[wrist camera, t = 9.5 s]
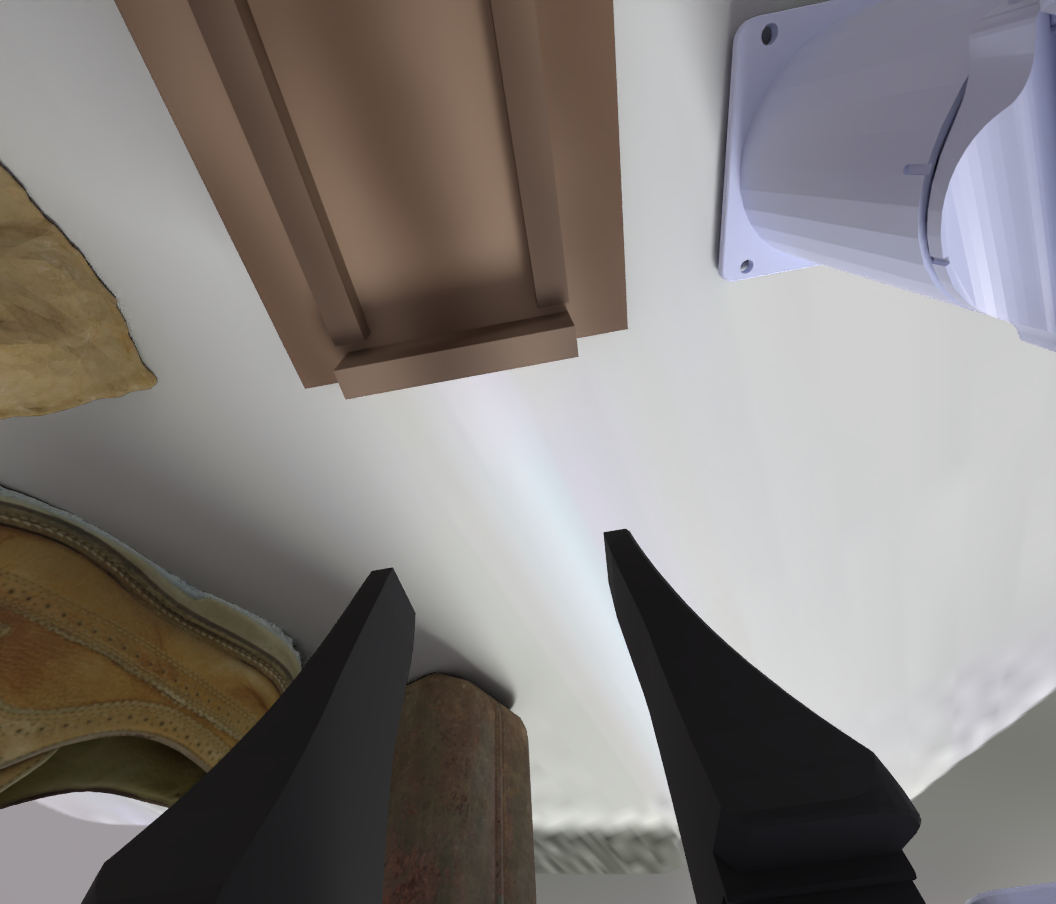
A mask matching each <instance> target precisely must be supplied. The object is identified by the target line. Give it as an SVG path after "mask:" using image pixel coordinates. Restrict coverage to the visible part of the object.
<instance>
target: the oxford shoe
mask: <svg viewBox="0 0 1056 904" xmlns="http://www.w3.org/2000/svg"><path fill="white" fill-rule="evenodd" d="M292 642H293V639H292V638H291V637H287V636H286V635H285V634H284V633H283V632H282V630H281V628H279V627H277V626H276V625H275V624H274V623H271V622H269V621H267V620H266V619H263V618H261V617H260V616H258V615H255V614H253V613H250V612H249V611H247V610H245V609H243V608H241V607H239V606H237V605H236V604H231V603H229V602H227V601H225V600H224V599H221V598H219V597H215V596H213V595H212V594H210V593H206V592H202V591H201V590H198V589H197V588H194V587H192V586H190V585H188V584H187V583H186V582H184V581H182V580H181V579H180V578H179V577H177V576H174V575H172V574H171V573H169V572H168V571H166V570H164V569H163V568H161V567H160V566H158V565H157V564H155V563H154V562H152V561H150V560H149V559H146V558H145V557H143V556H142V555H141V554H139V553H137V551H135V550H133V549H132V548H131V547H129V546H127V545H126V544H124V543H123V542H121V541H119V540H118V539H116V538H114V537H113V536H111V535H110V534H109V533H107V532H105V531H103V530H101V529H100V528H98V527H97V526H94V525H91V524H90V523H87V522H85V521H84V520H83V519H82V518H80V517H78V516H75V515H74V514H71V513H69V512H66V511H64V510H60V509H58V508H56V507H52V506H49V504H45V503H44V502H42V501H39V500H36V499H35V498H32V497H29V496H25V495H24V494H21V493H18V492H15V491H13V490H9V489H6V488H3V487H1V486H0V809H3V808H6V807H9V806H12V805H17V804H20V803H24V802H28V801H32V800H36V799H39V798H44V797H48V796H54V795H58V794H66V793H71V792H85V791H91V792H102V793H110V794H115V795H120V796H124V797H129V798H133V799H136V800H140V801H143V802H147V803H151V804H156V805H159V806H164V807H167V808H170V807H171V806H172V805H173V804H174V803H175V802H176V801H178V800H179V799H180V798H181V797H182V796H183V795H184V794H185V793H186V792H187V791H188V790H190V789H191V788H192V787H193V786H194V785H195V784H196V783H197V782H198V781H199V780H200V779H201V778H202V777H203V776H205V775H206V774H207V773H208V772H209V771H210V770H211V769H212V768H213V767H214V766H215V765H216V764H217V763H218V762H219V761H220V760H221V759H222V758H223V757H224V756H225V755H226V754H227V753H228V752H229V751H230V750H231V749H232V748H233V747H234V746H235V745H236V744H237V743H238V742H239V741H240V740H241V739H242V738H243V736H244V735H245V734H246V733H247V732H248V731H249V730H250V729H251V728H252V727H253V726H254V725H255V724H256V723H257V722H258V721H259V720H260V719H261V718H262V716H263V715H264V714H265V713H266V712H267V711H268V710H269V709H270V707H271V706H272V705H273V704H274V703H275V702H276V701H277V700H278V698H279V697H280V696H281V695H282V694H283V693H284V691H285V690H286V689H287V688H288V686H289V685H290V684H291V683H292V682H293V680H294V679H295V678H296V677H297V675H298V674H299V673H300V671H301V670H302V669H301V668H302V667H301V661H300V659H301V657H300V655H299V653H298V651H295V650H294V648H293V644H292Z"/></svg>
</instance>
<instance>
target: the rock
mask: <svg viewBox="0 0 1056 904" xmlns="http://www.w3.org/2000/svg"><path fill="white" fill-rule="evenodd" d="M116 305H117V300H116V299H115V297H114V296H113V295H112V294H111V293H110V292H109V291H108V290H107V289H106V288H105V287H104V286H103V284H102V283H101V282H100V281H99V279H98V278H97V276H96V275H95V274H94V272H93V271H92V269H91V268H90V267H89V266H88V264H87V262H86V260H85V259H84V257H83V256H82V255H81V254H80V253H79V251H78V250H76V249H75V248H73V247H72V245H71V244H70V243H69V242H68V241H67V239H66V238H65V237H64V235H63V234H62V233H61V232H60V231H59V230H58V228H57V227H56V226H55V225H54V224H52V223H50V222H49V221H48V220H46V219H45V217H44V216H43V215H42V213H41V212H40V211H39V210H38V208H37V207H36V206H35V205H34V204H33V203H32V202H31V201H30V200H29V198H28V196H27V194H26V192H25V190H24V189H23V188H22V187H21V186H20V185H19V184H18V183H17V182H16V181H15V180H14V179H13V178H12V176H11V175H10V174H9V173H8V172H7V171H6V170H5V169H4V168H3V167H2V166H0V419H5V418H10V417H19V416H41V415H46V414H51V413H55V412H58V411H62V410H66V409H70V408H73V407H76V406H80V405H83V404H86V403H88V402H91V401H93V400H97V399H104V398H117V397H121V396H124V395H126V394H127V393H129V392H133V391H138V390H147V389H151V388H152V387H153V386H154V385H155V384H156V382H157V378H156V377H155V375H154V374H153V373H151V372H150V371H149V370H147V369H146V367H145V366H144V365H143V363H142V361H141V359H140V357H139V355H138V352H137V350H136V348H135V345H134V343H133V342H132V340H131V339H130V337H129V335H128V332H129V331H128V328H127V325H126V322H125V321H124V319H123V317H122V315H121V313H120V311H119V309H118V308H117V306H116Z"/></svg>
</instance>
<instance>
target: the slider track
mask: <svg viewBox="0 0 1056 904" xmlns="http://www.w3.org/2000/svg"><path fill="white" fill-rule="evenodd" d="M114 1H115V3H116V5H117V7H118V9H119V11H120V13H121V15H122V17H123V19H124V21H125V23H126V25H127V27H128V30H129V32H130V34H131V36H132V38H133V40H134V42H135V44H136V46H137V48H138V50H139V52H140V54H141V56H142V58H143V60H144V62H145V64H146V66H147V68H148V70H149V72H150V74H151V76H152V78H153V80H154V82H155V84H156V86H157V89H158V91H159V93H160V95H161V97H162V99H163V101H164V103H165V105H166V107H167V109H168V111H169V113H170V115H171V117H172V119H173V121H174V123H175V125H176V127H177V129H178V131H179V133H180V135H181V137H182V139H183V141H184V143H185V145H186V148H187V150H188V152H189V154H190V156H191V158H192V160H193V162H194V164H195V166H196V168H197V170H198V172H199V174H200V176H201V178H202V180H203V182H204V184H205V186H206V188H207V190H208V192H209V194H210V196H211V198H212V200H213V202H214V204H215V207H216V209H217V211H218V213H219V215H220V217H221V219H222V221H223V223H224V225H225V227H226V229H227V231H228V233H229V235H230V237H231V239H232V241H233V243H234V245H235V247H236V249H237V251H238V253H239V255H240V257H241V259H242V261H243V263H244V266H245V268H246V270H247V272H248V274H249V276H250V278H251V280H252V282H253V284H254V286H255V288H256V290H257V292H258V294H259V296H260V298H261V300H262V302H263V304H264V306H265V308H266V310H267V312H268V314H269V316H270V318H271V320H272V322H273V325H274V327H275V329H276V331H277V333H278V335H279V337H280V339H281V341H282V343H283V345H284V347H285V349H286V351H287V353H288V355H289V357H290V359H291V361H292V363H293V365H294V367H295V369H296V371H297V373H298V375H299V377H300V379H301V381H302V384H303V386H304V388H305V389H306V388H312V387H317V386H322V385H328V384H333V383H339V385H340V388H341V390H342V392H343V394H344V397H345V399H351V398H356V397H362V396H367V395H372V394H378V393H383V392H389V391H394V390H400V389H405V388H411V387H416V386H421V385H427V384H432V383H438V382H443V381H449V380H454V379H460V378H465V377H470V376H476V375H481V374H487V373H492V372H498V371H503V370H509V369H514V368H519V367H525V366H530V365H536V364H541V363H547V362H552V361H557V360H563V359H568V358H574V357H578V349H577V340H576V338H581V337H587V336H592V335H597V334H603V333H608V332H614V331H619V330H624V329H628V325H627V303H626V281H625V258H624V236H623V214H622V192H621V169H620V147H619V125H618V103H617V80H616V58H615V36H614V14H613V0H114Z"/></svg>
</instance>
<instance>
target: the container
mask: <svg viewBox="0 0 1056 904" xmlns="http://www.w3.org/2000/svg"><path fill="white" fill-rule="evenodd" d="M383 904H536V883H535V864H534V844H533V824H532V804H531V785H530V765H529V745H528V736H527V731H526V728H525V726H524V724H523V722H522V720H521V718H520V717H519V716H517V715H516V714H514V713H513V712H512V711H510V710H509V709H508V708H506V707H505V706H504V705H502V704H501V703H499V702H498V701H497V700H495V699H494V698H492V697H491V696H490V695H488V694H486V693H485V692H484V691H483V690H481V689H480V688H478V687H477V686H476V685H474V684H473V683H471V682H470V681H468V680H464V679H461V678H457V677H453V676H449V675H445V674H441V673H438V672H435V673H433V674H431V675H428V676H426V677H424V678H422V679H420V680H417V681H415V682H413V683H411V684H409V685H407V686H406V689H405V694H404V699H403V704H402V709H401V714H400V719H399V724H398V729H397V735H396V741H395V748H394V755H393V765H392V774H391V784H390V794H389V807H388V819H387V831H386V846H385V863H384V880H383Z"/></svg>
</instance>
